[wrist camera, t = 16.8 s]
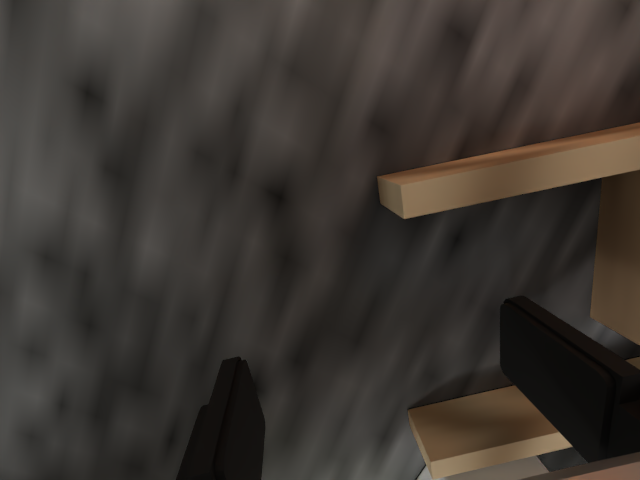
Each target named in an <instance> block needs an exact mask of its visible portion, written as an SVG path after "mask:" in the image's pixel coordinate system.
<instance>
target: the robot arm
mask: <svg viewBox="0 0 640 480" xmlns="http://www.w3.org/2000/svg"><path fill="white" fill-rule="evenodd" d="M500 366H501V369H502V371H503V373H504V374H505V375H506V376H507V377H508V379H509V380H510V381H511V382H512V383H513V384H514V385H515V386H516V387H517V388H518V389H519V390H520V391H521V392H522V393H523V394H524V395H525V396H526V398H527V399H528V400H529V401H530V402H531V403H532V404H533V405H534V406H535V407H536V408H537V409H538V410H539V411H540V412H541V413H542V414H543V415H544V417H545V418H546V419H547V420H548V421H549V422H550V423H551V424H552V425H553V426H554V427H555V428H556V429H557V430H558V431H559V432H560V433H561V434H562V436H563V437H564V438H565V439H566V440H567V441H568V442H569V443H570V444H571V445H572V446H573V447H574V448H575V449H576V450H577V451H578V452H579V453H580V455H581V456H582V457H583V458H584V459H585V460H586V461H587V462H588V463H587V464H583V465H578V466H574V467H570V468H565V469H561V470H557V471H553V472H548V473H544V474H540V475H535V476H531V477H527V478H523V479H518V480H640V369H638V368H637V367H635V366H633V365H632V364H630V363H629V362H627V361H626V360H624V359H622V358H621V357H619V356H618V355H616V354H614V353H613V352H611V351H610V350H608V349H607V348H605V347H603V346H602V345H600V344H599V343H597V342H596V341H594V340H592V339H591V338H589V337H588V336H586V335H585V334H583V333H581V332H580V331H578V330H577V329H575V328H574V327H572V326H570V325H569V324H567V323H566V322H564V321H562V320H561V319H559V318H558V317H556V316H555V315H553V314H551V313H550V312H548V311H547V310H545V309H544V308H542V307H540V306H539V305H537V304H536V303H534V302H533V301H531V300H529V299H528V298H526V297H524V296H517V297H513V298H508V299H505V301H504V304H502V305H501V307H500ZM264 438H265V419H264V415H263V412H262V409H261V405H260V402H259V399H258V396H257V392H256V389H255V386H254V382H253V379H252V376H251V373H250V369H249V366H248V363H247V361H246V360H241V358H240V357H235V358H230V359H225V360H223V361H222V364H221V367H220V370H219V373H218V376H217V380H216V383H215V386H214V389H213V392H212V396H211V399H210V402H209V404H208V405H203V406H202V407H201V409H200V411H199V413H198V416H197V419H196V422H195V425H194V428H193V431H192V434H191V437H190V440H189V443H188V446H187V449H186V451H185V454H184V457H183V460H182V463H181V466H180V469H179V472H178V475H177V478H176V480H261V474H262V462H263V450H264Z"/></svg>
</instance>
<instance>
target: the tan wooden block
mask: <svg viewBox="0 0 640 480" xmlns="http://www.w3.org/2000/svg"><path fill="white" fill-rule="evenodd" d="M590 317H591V318H593V319H594V320H596V321H598V322H600V323H601V324H603V325H605V326H607V327H608V328H610V329H612V330H614V331H615V332H617V333H619V334H621V335H622V336H624V337H626V338H627V339H629V340H631V341H633V342H634V343H636V344H638V345H640V170H635V171H630V172H626V173H621V174H616V175H611V176H607V177H602V185H601V196H600V208H599V219H598V231H597V242H596V253H595V265H594V276H593V288H592V299H591V310H590Z"/></svg>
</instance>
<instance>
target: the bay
mask: <svg viewBox="0 0 640 480" xmlns="http://www.w3.org/2000/svg"><path fill="white" fill-rule="evenodd" d="M635 170H640V122H639V123H634V124H629V125H624V126H620V127H615V128H610V129H605V130H600V131H595V132H591V133H586V134H581V135H576V136H571V137H566V138H561V139H557V140H552V141H547V142H542V143H537V144H532V145H528V146H523V147H518V148H513V149H508V150H503V151H498V152H494V153H489V154H484V155H479V156H474V157H469V158H465V159H460V160H455V161H450V162H445V163H440V164H436V165H431V166H426V167H421V168H416V169H411V170H406V171H402V172H397V173H392V174H387V175H382V176H377V181H378V188H379V196H380V203H381V204H382V205H383V206H385V207H387V208H388V209H390V210H391V211H393V212H394V213H396V214H397V215H399V216H400V217H402V218H403V219H407V218H412V217H417V216H422V215H426V214H431V213H436V212H441V211H445V210H450V209H455V208H460V207H464V206H469V205H474V204H479V203H483V202H488V201H493V200H498V199H502V198H507V197H512V196H517V195H521V194H526V193H531V192H536V191H540V190H545V189H550V188H554V187H559V186H564V185H569V184H573V183H578V182H583V181H588V180H592V179H597V178H602V177H607V176H611V175H616V174H621V173H626V172H630V171H635ZM626 361H627V362H629V363H630V364H632V365H633V366H635V367H637V368H638V369H640V357H637V358H632V359H628V360H626ZM408 416H409V424H410V427H411V430H412V432H413V435H414V437H415V439H416V442H417V444H418V446H419V449H420V451H421V454H422V456H423V458H424V461H425V463H426V465H427V468H428V470H429V473H430V475H431V477H432V480H434V479H438V478H442V477H446V476H451V475H455V474H459V473H463V472H468V471H472V470H476V469H481V468H485V467H489V466H493V465H498V464H502V463H506V462H510V461H515V460H519V459H523V458H527V457H532V456H536V455H540V454H544V453H549V452H553V451H557V450H561V449H566V448H570V447H573V446H572V445H571V444H570V443H569V442H568V441H567V440H566V439H565V438H564V437H563V436H562V434H561V433H560V432H559V431H558V430H557V429H556V428H555V427H554V426H553V425H552V424H551V423H550V422H549V421H548V420H547V419H546V418H545V417H544V415H543V414H542V413H541V412H540V411H539V410H538V409H537V408H536V407H535V406H534V405H533V404H532V403H531V402H530V401H529V400H528V399H527V398H526V396H525V395H524V394H523V393H522V392H521V391H520V390H519V389H518V388H517V387H516V386H515V385H514V386H509V387H505V388H501V389H496V390H492V391H487V392H483V393H479V394H474V395H470V396H466V397H461V398H457V399H452V400H448V401H444V402H439V403H435V404H430V405H426V406H422V407H417V408H413V409H409V410H408Z"/></svg>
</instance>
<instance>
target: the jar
mask: <svg viewBox="0 0 640 480" xmlns="http://www.w3.org/2000/svg"><path fill="white" fill-rule="evenodd" d="M548 472H549V471H548V470H547V468H546V467H545V466H544V465H543V463H542V462H541V461H540V460H539V458H538V457H537V456H532V457H527V458H523V459H519V460H515V461H510V462H506V463H502V464H498V465H493V466H489V467H485V468H481V469H476V470H472V471H468V472H463V473H459V474H455V475H451V476H446V477H442V478H438V479H434V480H518V479H523V478H527V477H531V476H535V475H540V474H544V473H548ZM417 480H432V477H431V475H430V473H429V470H428V468H427V465H426V466H425V468H424V469H423V471H422V472H421V474H420V475H419V477H418V478H417Z"/></svg>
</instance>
